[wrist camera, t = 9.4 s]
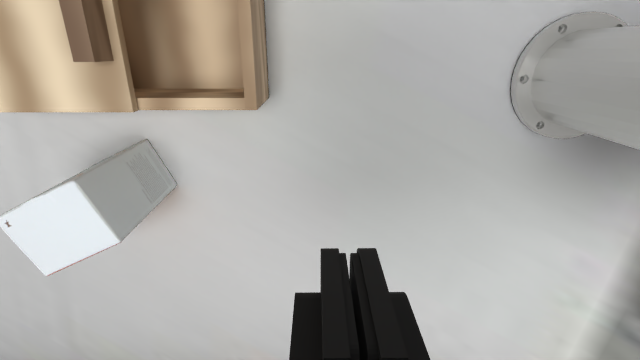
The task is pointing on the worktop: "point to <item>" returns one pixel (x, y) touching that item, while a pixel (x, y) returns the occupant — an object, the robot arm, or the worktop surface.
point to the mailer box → (196, 53)
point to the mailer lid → (64, 57)
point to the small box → (89, 209)
